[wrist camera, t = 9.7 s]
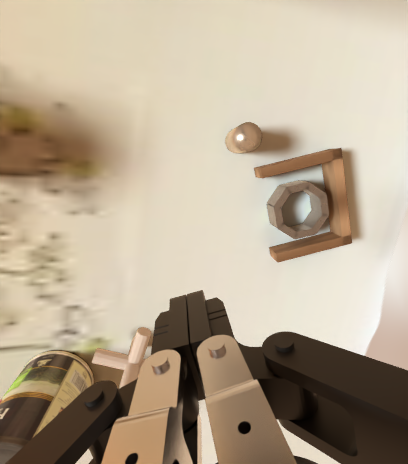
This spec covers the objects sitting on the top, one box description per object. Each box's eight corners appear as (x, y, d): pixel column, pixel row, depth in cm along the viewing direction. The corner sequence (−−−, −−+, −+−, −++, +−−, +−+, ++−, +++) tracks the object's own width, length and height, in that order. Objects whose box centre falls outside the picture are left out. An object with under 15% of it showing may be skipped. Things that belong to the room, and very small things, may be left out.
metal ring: (263, 188, 38) (270, 190, 35) (313, 176, 38) (324, 177, 35) (272, 237, 40) (279, 243, 37) (319, 225, 40) (331, 230, 37)
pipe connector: (181, 319, 42) (182, 367, 32) (161, 376, 44) (156, 437, 34) (113, 302, 40) (92, 346, 30) (95, 361, 42) (70, 421, 32)
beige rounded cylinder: (223, 131, 36) (231, 125, 30) (246, 126, 36) (259, 119, 30) (228, 155, 37) (237, 154, 31) (250, 150, 37) (264, 147, 31)
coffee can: (7, 387, 42) (-75, 496, 28) (47, 337, 41) (-19, 425, 27) (68, 420, 44) (19, 535, 30) (108, 373, 43) (76, 472, 29)
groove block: (254, 167, 37) (260, 168, 35) (328, 149, 38) (341, 148, 35) (270, 255, 41) (277, 262, 38) (339, 237, 41) (352, 243, 38)
